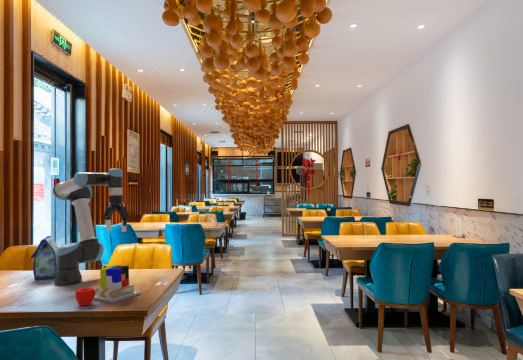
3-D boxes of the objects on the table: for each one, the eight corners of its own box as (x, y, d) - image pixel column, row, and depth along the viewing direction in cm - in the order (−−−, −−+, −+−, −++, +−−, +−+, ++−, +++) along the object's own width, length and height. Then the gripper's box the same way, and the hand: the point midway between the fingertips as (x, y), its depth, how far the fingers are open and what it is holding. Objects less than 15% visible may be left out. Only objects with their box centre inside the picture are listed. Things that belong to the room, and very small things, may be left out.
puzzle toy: (117, 289, 191) (117, 269, 192) (100, 288, 194) (100, 269, 194) (129, 284, 201) (128, 265, 201) (112, 283, 203) (112, 265, 204)
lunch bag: (36, 274, 257) (36, 236, 258) (63, 272, 263) (63, 234, 263) (29, 281, 236) (28, 239, 237) (59, 278, 242) (58, 238, 243)
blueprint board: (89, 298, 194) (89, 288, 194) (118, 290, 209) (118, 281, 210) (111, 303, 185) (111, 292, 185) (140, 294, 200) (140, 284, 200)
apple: (98, 301, 188) (98, 286, 188) (91, 307, 179) (90, 290, 179) (80, 302, 188) (80, 286, 188) (71, 307, 179) (71, 291, 179)
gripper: (96, 195, 224) (97, 231, 223) (124, 194, 211) (125, 232, 210) (107, 195, 230) (108, 229, 230) (135, 194, 217) (135, 231, 217)
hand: (116, 231), depth 220 cm, fingers open, 13 cm apart
